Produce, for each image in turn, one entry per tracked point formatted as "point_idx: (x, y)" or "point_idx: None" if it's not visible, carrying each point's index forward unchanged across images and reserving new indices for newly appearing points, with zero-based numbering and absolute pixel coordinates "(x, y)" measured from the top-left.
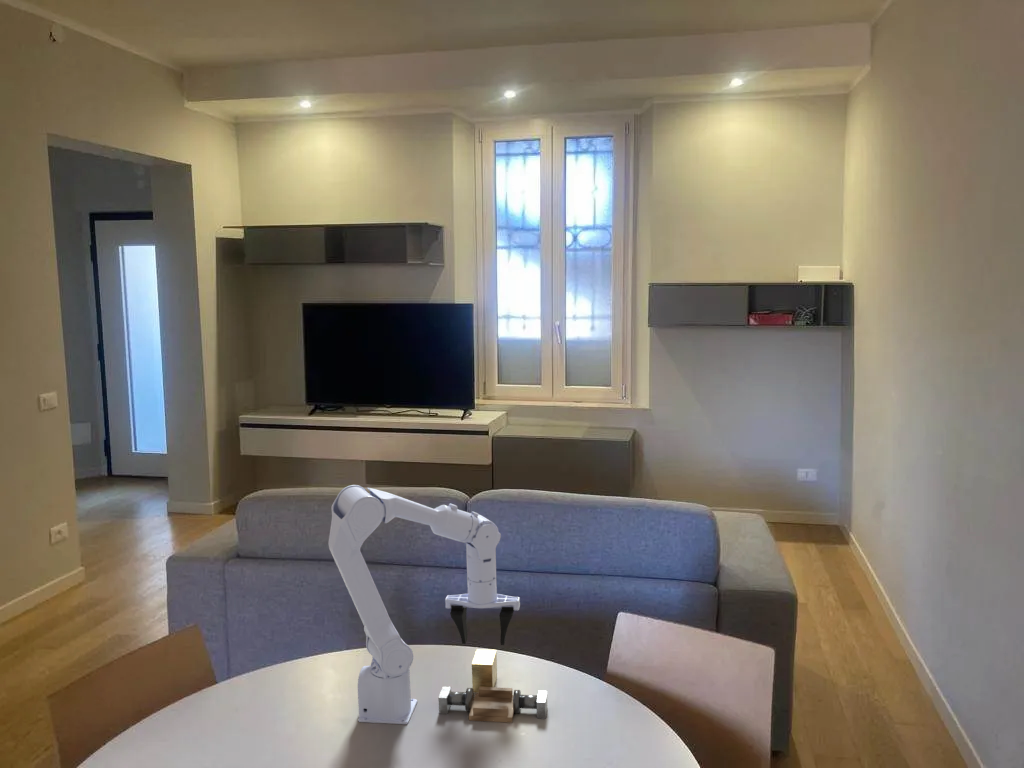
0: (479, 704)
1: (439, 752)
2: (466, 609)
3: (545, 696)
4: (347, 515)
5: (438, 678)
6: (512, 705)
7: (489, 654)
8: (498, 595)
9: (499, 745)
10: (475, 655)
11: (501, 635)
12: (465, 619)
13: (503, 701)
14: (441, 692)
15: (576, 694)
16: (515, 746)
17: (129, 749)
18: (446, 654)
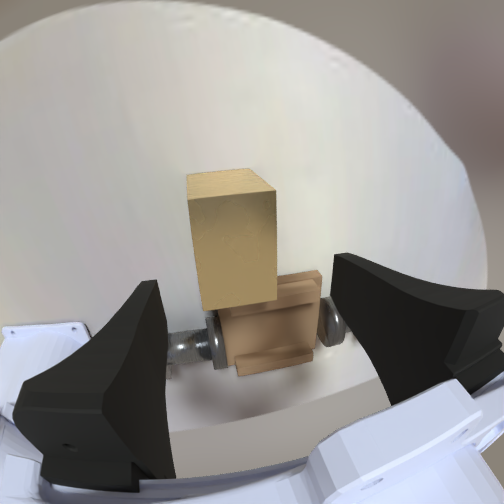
0: (238, 330)
1: (202, 418)
2: (121, 374)
3: None
4: None
5: (74, 207)
6: (314, 314)
7: (254, 233)
8: (493, 415)
9: (292, 387)
10: (197, 251)
11: (357, 333)
12: (143, 366)
13: (293, 307)
14: None
15: (426, 216)
16: (316, 381)
17: None
18: (53, 63)
